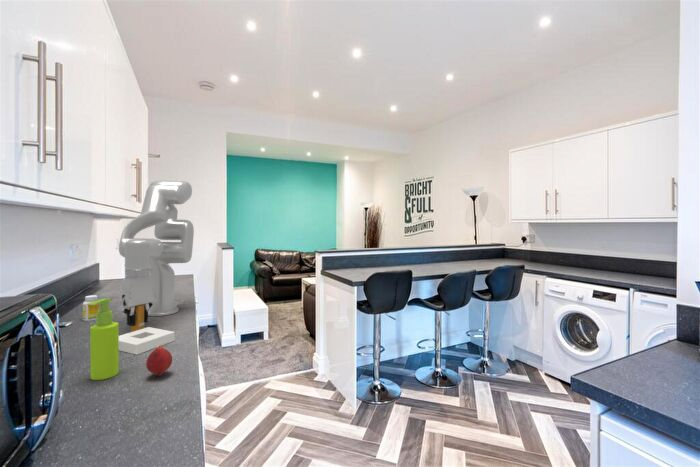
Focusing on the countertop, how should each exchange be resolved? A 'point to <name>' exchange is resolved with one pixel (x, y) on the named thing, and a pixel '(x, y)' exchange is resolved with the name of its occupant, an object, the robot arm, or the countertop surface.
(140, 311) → the supplement box
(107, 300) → the soap dispenser
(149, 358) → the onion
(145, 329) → the socket block
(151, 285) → the robot arm
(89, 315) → the supplement bottle
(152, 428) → the countertop surface
